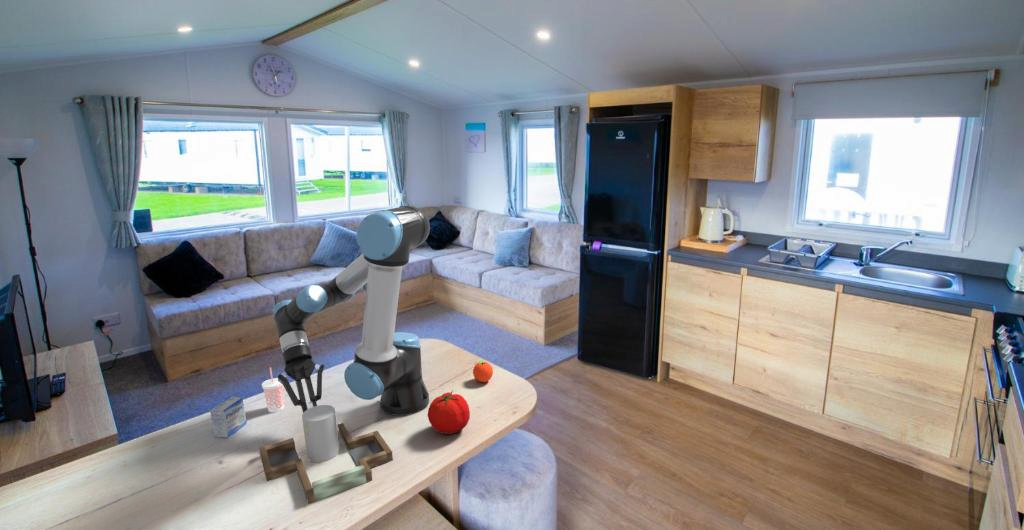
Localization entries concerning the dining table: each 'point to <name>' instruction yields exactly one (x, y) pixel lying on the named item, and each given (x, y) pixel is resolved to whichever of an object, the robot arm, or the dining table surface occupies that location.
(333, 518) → the dining table surface
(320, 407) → the gray cylinder
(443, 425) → the tomato
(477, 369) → the clementine
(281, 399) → the beverage cup
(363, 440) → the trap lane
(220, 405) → the medicine box
